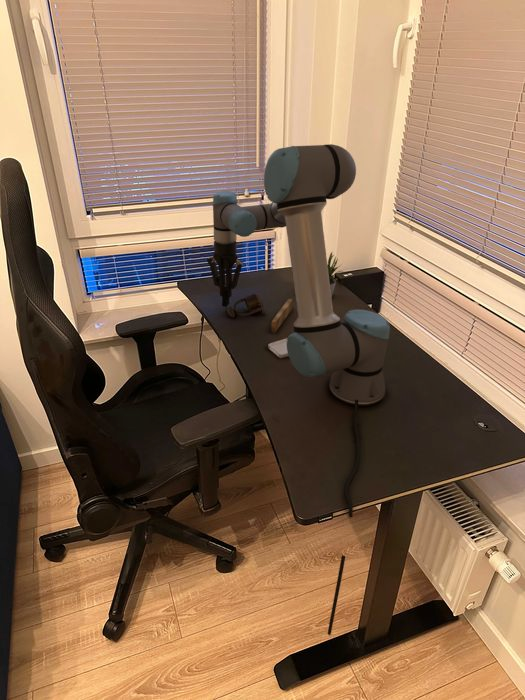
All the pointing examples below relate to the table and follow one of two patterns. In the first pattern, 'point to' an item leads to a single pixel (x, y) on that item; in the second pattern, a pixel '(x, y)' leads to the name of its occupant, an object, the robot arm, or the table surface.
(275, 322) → the rail
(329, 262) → the house plant
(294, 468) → the table surface
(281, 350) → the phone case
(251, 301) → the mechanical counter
